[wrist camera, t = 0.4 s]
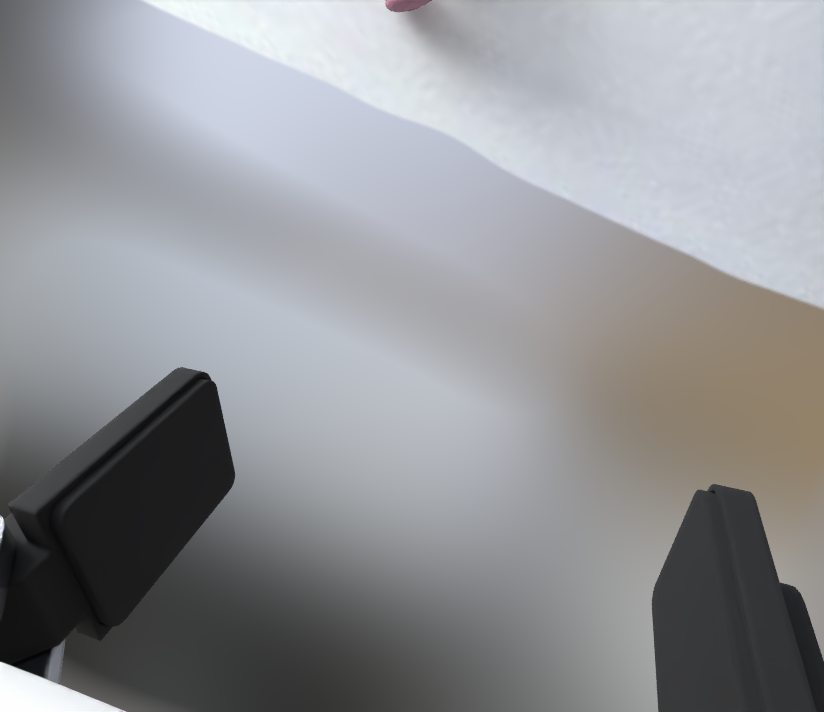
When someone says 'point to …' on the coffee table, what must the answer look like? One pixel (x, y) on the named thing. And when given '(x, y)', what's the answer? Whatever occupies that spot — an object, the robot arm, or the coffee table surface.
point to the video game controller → (405, 4)
